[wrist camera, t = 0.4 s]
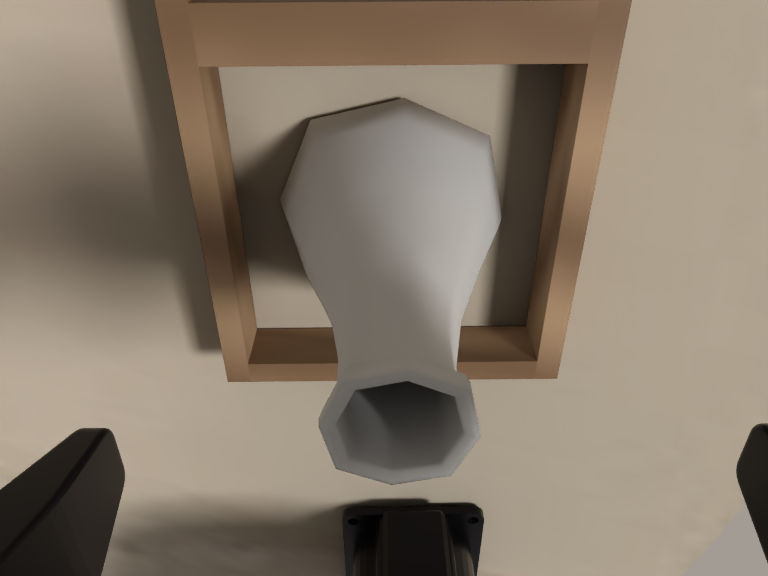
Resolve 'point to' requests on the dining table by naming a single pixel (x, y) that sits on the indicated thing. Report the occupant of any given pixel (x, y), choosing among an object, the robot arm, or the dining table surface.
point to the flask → (395, 279)
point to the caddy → (392, 47)
